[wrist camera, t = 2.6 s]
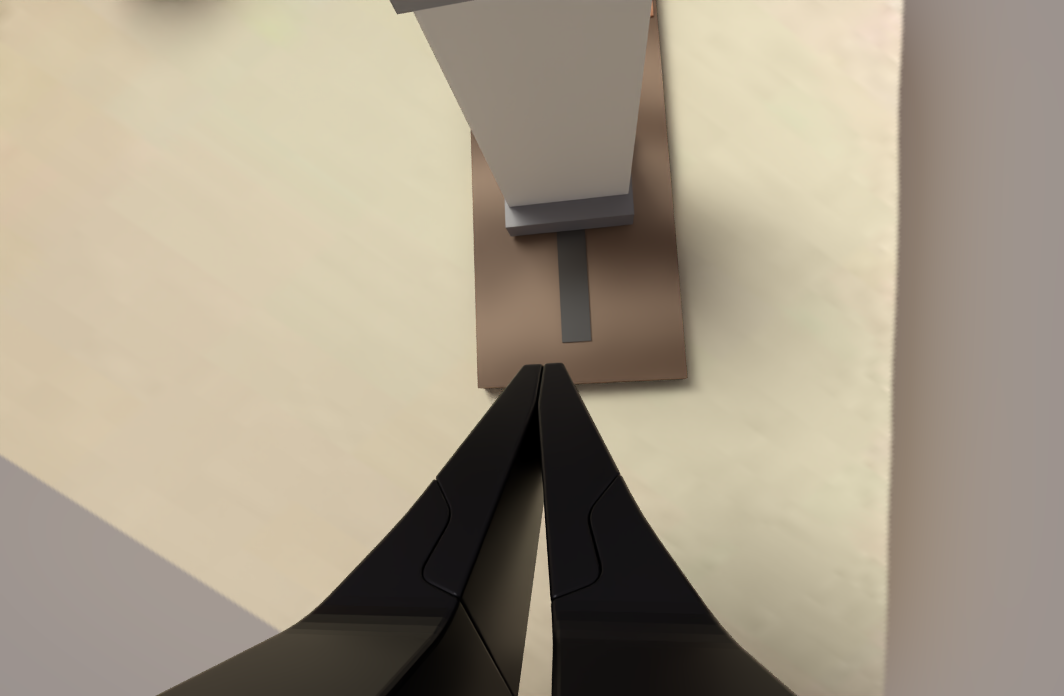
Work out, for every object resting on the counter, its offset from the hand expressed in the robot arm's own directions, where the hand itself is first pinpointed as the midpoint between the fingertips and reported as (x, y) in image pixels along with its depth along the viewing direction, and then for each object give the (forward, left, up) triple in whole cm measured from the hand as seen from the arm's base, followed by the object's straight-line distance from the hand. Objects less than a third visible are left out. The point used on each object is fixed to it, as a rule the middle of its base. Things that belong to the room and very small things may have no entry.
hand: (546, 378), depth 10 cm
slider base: (+13, 0, -13) cm, 19 cm away
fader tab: (+10, 0, -12) cm, 16 cm away
